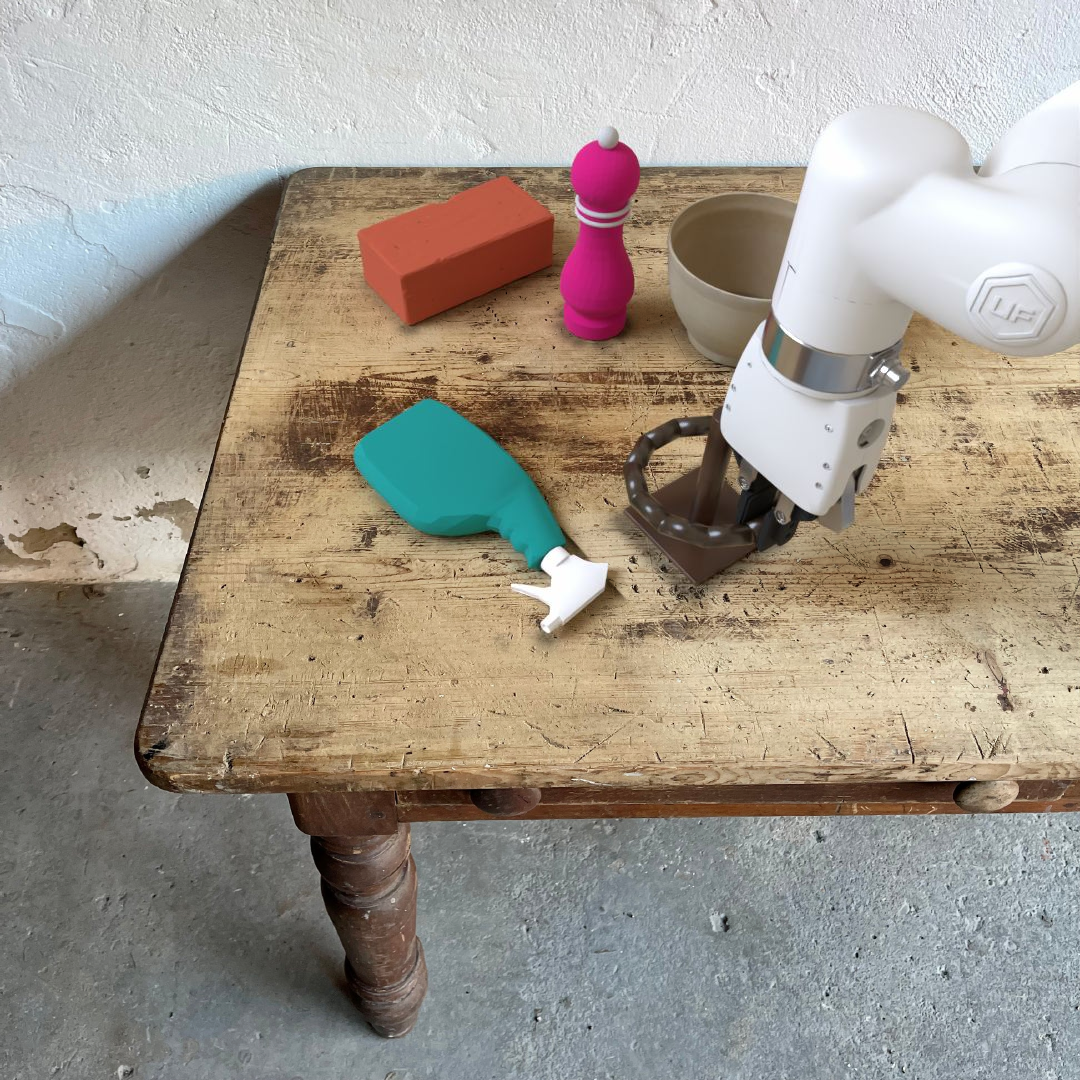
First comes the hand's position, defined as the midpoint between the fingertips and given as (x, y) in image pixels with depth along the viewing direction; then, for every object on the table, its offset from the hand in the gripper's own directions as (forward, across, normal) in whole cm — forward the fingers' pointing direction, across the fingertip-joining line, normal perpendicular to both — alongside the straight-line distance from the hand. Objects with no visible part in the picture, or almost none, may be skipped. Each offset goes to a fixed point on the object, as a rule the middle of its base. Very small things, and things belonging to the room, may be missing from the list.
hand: (761, 529), depth 66 cm
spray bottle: (+6, +17, +14) cm, 23 cm away
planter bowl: (+6, +22, -19) cm, 30 cm away
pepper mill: (+6, +32, -9) cm, 34 cm away
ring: (0, +6, 0) cm, 6 cm away
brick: (+6, +46, -2) cm, 46 cm away
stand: (+6, +6, 0) cm, 8 cm away
